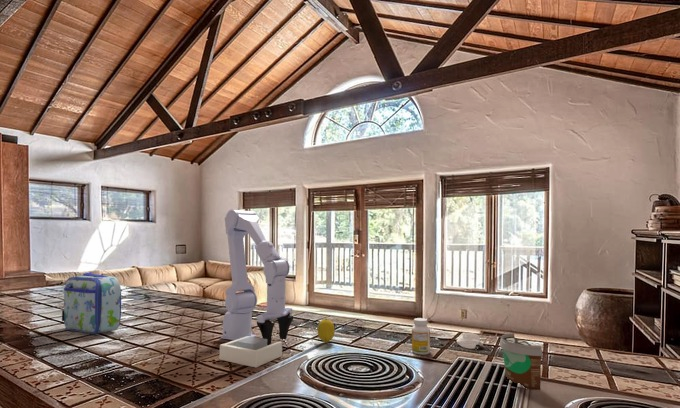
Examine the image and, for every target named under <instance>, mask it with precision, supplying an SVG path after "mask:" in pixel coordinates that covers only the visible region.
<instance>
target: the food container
mask: <svg viewBox="0 0 680 408" xmlns="http://www.w3.org/2000/svg"><path fill="white" fill-rule="evenodd" d="M499 347H500V348H501V350H502V354H503V356H502V358H503V364H504V374H505V378H506V377H507V379H509V380H511V381H512V382H514V383H520V384H521V385H523V386H524V387H525V388H527V389H526V390H531V391H541V382H542V381H541V376H542V375H541V373H542V370H541V369H542V368H541V367H542V357H543V349H542V346H541V345H532V344H530V342H528V341H526V340H521V339H520V338H519V339H518V338H516V336H515V333H514V332H513V333H507V334H506V333H505V334H502V335H501V338H500V341H499Z"/></svg>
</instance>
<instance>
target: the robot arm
mask: <svg viewBox="0 0 680 408" xmlns="http://www.w3.org/2000/svg"><path fill="white" fill-rule="evenodd" d="M259 219H260V218H259V216H258V215H257V213H256V211H255V210H241V209H240V210H238V209H229V210H228V211H227V213H226V215H225V216H224V223H225V224H224V225H225V233H226V235H227V243H228V255H229V263H230V272H231V273H230V275H231V282H232V283H231V284H230V286H229V287H228V288H227V289H226V290H225V298H224V306H225V309H226V310H227V311H226V312H225V314H224V315H223V318H222V319H223V320H222V335H221V336H220V338H221V339H225V340H230V341H234V340H237V339H240V338H243V337H246V336H251V337H257V336H258V335H257V334H252V318H253V316H252V315H253V311H254V308H255V307H256V306H257V305H258V296H257V293H256V291H255V286H254V285H253V284H252V283H250V281H249V280H248V271H247V262H246V252H245V243H244V238H245V236H246V235H249V237H250V238H251V239H252V241H253V243H254V244H255V246H256V247H255V248H256V249H255V252H256V254H257V255H258V257H259V259H260V261H261V263H262V264H263V269H262V271H263V275H264V279H265V283H266V311H265V312H264V313H261V314H259V315H257V321H256V325H257V327H258V329H259V331H260V333H261V336H262V337H261V338H263V339H267V346H268V345H271V344H272V337H273V331H274V327H275V324H276V323H275V322H271V320H274V319H276V320H277V324H278V332H279V333H278V334H279V339H280V340H284V341H285V340H287V337H288V333H289V330H290V327H291V324H292V322H293V321H294V315H293V308H292V307H286V277H287V276H288V275H289V273H290V263H289V262H288V260H287V259H286V258H283V257H282V256H281V255H280V254H279V253H278V251H277V249H276V248H275V246H274V244H273V242H271V241H270V240H266V237H265V236H264V233H263V232H262V229H261V228H260V225H259Z"/></svg>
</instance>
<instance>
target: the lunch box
mask: <svg viewBox="0 0 680 408" xmlns="http://www.w3.org/2000/svg"><path fill="white" fill-rule="evenodd" d="M121 319H122V288H121V284H120V281H119V279H118V278H117V277H116V276H111V275H106V274H95V273H94V274H93V273H92V272H85V273H83V274H82V275H77V276H71V277H68V278H67V279H66V282H65V286H64V288H63V310H62V311H61V321H62V322H63V324H64V327H65V330H66V329H67V330H66V331H73V332H78V331H79V333H84V334H88V335H96V334H97V335H98V334H103V333H108V332H111V331H116V330H118V329H119V327H120V325H121Z"/></svg>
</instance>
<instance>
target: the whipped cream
mask: <svg viewBox="0 0 680 408" xmlns="http://www.w3.org/2000/svg"><path fill="white" fill-rule="evenodd" d="M456 343H457V345H459V346H460V347H461V348H465V349H469V350H474V349H475V348H476V347H477V346H483V345H484V344H483V342H481V337H480V335H478V334H477V333H472V332H462V335H460V337H459V338H458V339H456ZM476 345H477V346H476Z"/></svg>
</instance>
